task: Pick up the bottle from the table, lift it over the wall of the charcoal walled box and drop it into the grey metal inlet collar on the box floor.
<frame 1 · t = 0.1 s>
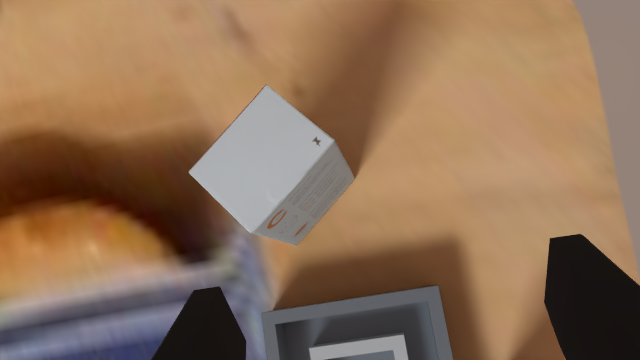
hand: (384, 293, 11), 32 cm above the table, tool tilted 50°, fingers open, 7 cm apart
small box: (301, 189, 45), on the table
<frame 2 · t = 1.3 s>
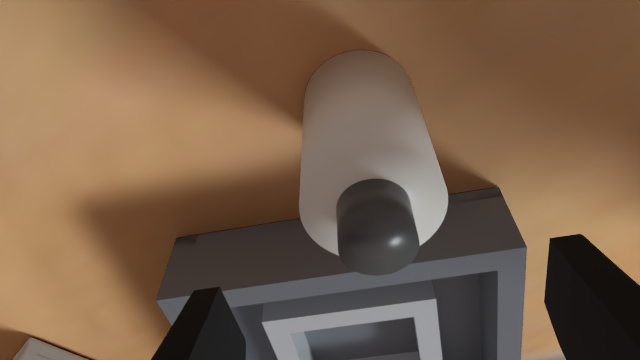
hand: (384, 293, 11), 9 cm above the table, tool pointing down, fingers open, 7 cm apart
bottle: (358, 102, 18), on the table
walled box: (357, 316, 26), on the table
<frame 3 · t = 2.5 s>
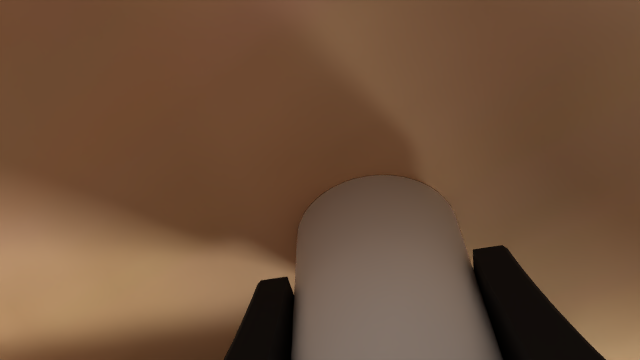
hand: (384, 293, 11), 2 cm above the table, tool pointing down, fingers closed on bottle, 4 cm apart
bottle: (377, 239, 13), on the table, touching gripper
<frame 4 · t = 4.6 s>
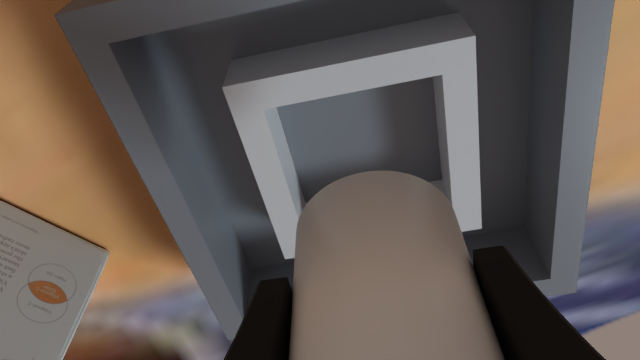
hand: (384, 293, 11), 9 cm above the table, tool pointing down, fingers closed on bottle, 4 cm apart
small box: (3, 246, 23), on the table
bottle: (376, 236, 13), point 7 cm above the table, touching gripper
walled box: (360, 125, 19), on the table
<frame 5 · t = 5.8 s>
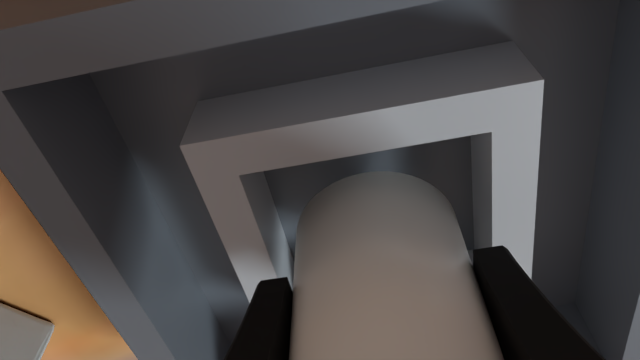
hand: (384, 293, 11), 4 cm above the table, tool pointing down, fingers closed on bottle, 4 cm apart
bottle: (376, 236, 13), point 2 cm above the table, touching gripper
walled box: (370, 181, 15), on the table
when the fingers open (3 cm above the table, at t = 6.4 s): bottle drops 1 cm, resting on walled box.
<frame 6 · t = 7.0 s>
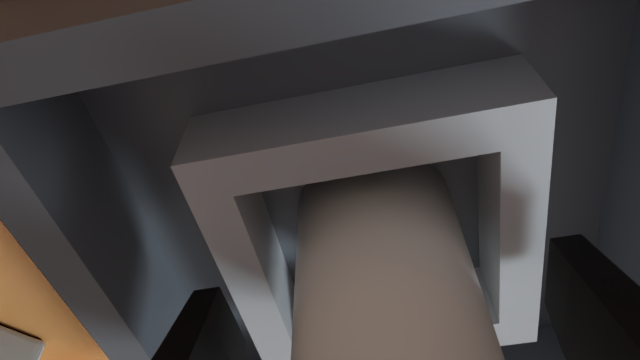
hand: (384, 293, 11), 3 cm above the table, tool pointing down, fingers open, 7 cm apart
bottle: (373, 209, 13), point 1 cm above the table, touching walled box
walled box: (371, 197, 14), on the table
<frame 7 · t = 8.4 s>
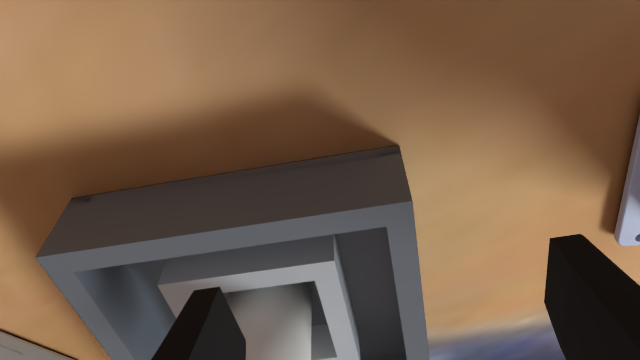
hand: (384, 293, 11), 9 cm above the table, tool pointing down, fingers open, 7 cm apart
bottle: (270, 293, 24), point 1 cm above the table, touching walled box
walled box: (271, 285, 25), on the table
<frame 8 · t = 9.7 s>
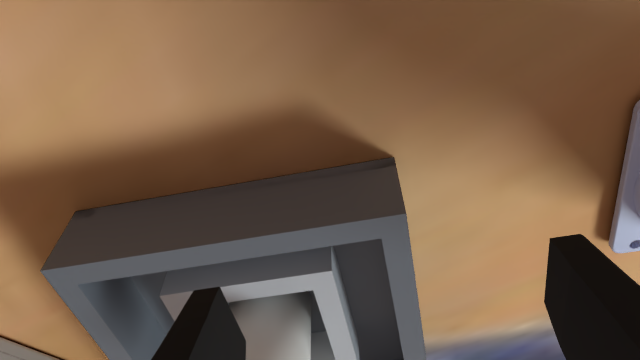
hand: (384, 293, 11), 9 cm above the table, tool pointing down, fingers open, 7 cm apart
bottle: (270, 302, 25), point 1 cm above the table, touching walled box
walled box: (271, 293, 25), on the table
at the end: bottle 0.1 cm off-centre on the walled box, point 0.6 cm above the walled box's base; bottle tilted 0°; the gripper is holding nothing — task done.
